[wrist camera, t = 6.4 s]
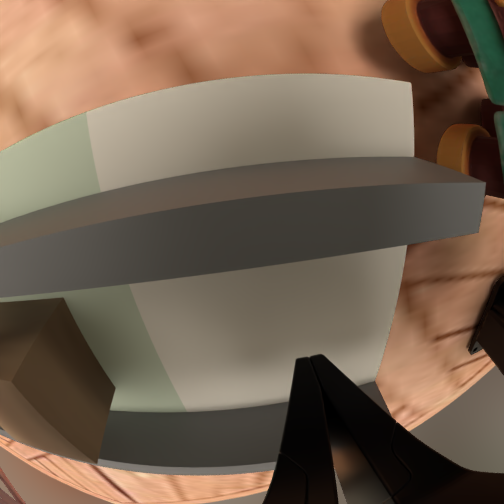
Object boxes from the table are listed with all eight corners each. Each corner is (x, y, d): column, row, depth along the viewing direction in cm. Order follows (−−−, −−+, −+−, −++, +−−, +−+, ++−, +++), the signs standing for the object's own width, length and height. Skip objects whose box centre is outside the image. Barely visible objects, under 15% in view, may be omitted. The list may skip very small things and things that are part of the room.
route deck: (378, 86, 8) (485, 80, 3) (351, 390, 15) (378, 456, 10) (-78, 213, 7) (-125, 248, 3) (21, 398, 14) (2, 443, 10)
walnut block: (63, 297, 8) (11, 381, 4) (115, 387, 10) (97, 464, 7) (-11, 303, 8) (-55, 362, 4) (40, 381, 10) (15, 440, 7)
